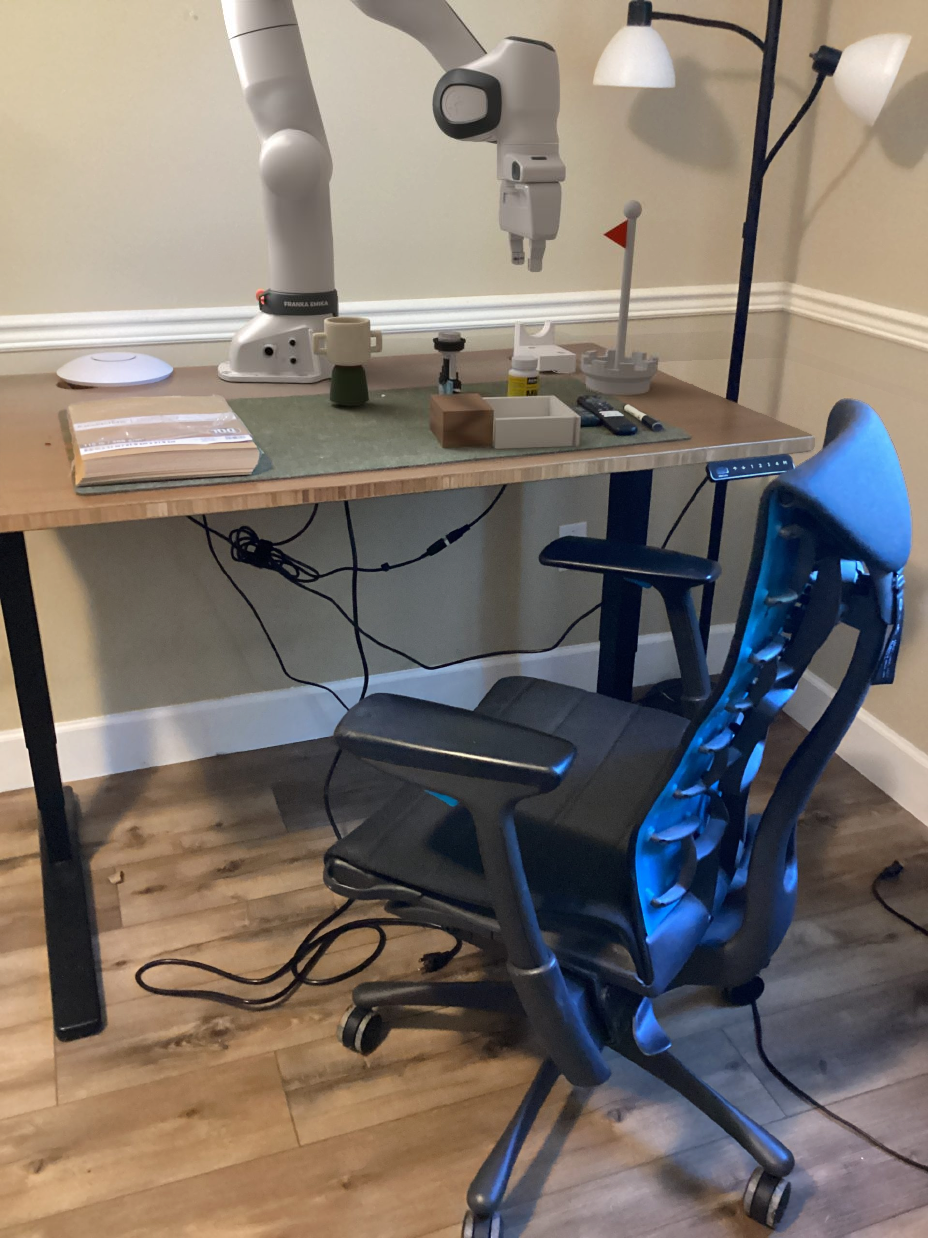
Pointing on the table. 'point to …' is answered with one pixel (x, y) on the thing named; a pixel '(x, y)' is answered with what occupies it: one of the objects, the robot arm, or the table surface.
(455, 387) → the push button
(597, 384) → the flag stand
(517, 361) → the supplement bottle
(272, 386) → the table surface
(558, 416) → the grey tray
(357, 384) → the cream and green trophy
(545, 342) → the bracket
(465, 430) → the walnut step
